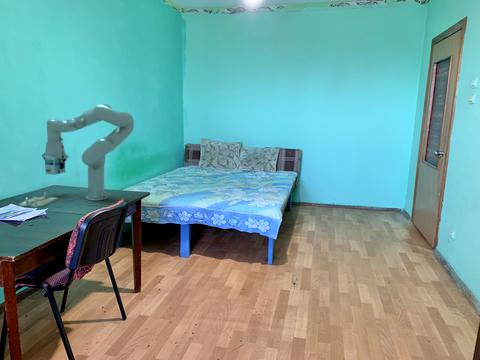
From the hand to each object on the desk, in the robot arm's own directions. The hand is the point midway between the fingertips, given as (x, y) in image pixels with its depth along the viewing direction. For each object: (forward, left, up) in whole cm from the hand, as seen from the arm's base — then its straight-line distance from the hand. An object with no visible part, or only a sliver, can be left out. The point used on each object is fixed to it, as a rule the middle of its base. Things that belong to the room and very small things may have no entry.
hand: (55, 168), depth 227 cm
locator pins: (+2, +17, -18) cm, 24 cm away
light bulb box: (0, 0, -3) cm, 3 cm away
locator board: (+2, +17, -18) cm, 24 cm away
